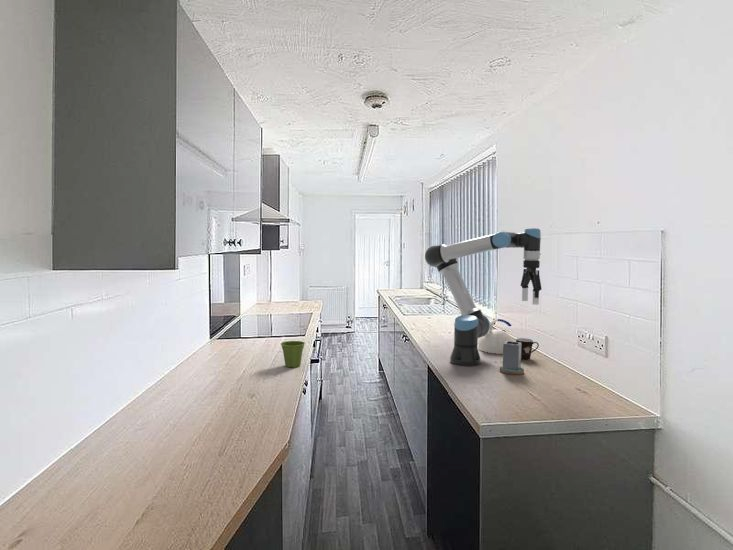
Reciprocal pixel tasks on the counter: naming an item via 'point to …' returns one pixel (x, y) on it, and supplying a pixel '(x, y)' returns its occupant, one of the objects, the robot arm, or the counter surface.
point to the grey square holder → (512, 355)
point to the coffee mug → (526, 347)
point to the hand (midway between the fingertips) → (529, 302)
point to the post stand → (512, 371)
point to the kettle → (494, 339)
